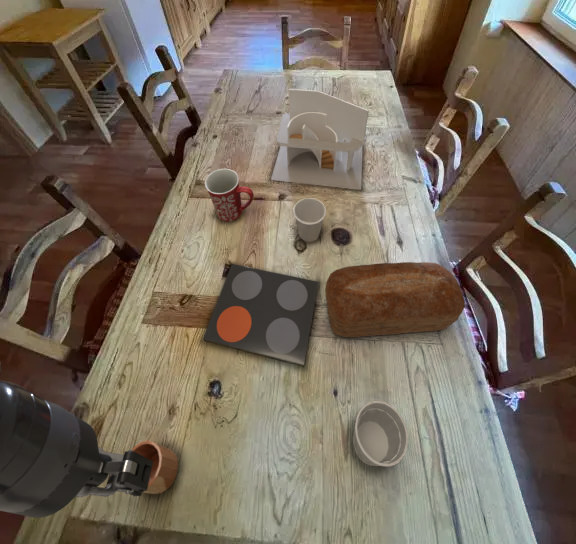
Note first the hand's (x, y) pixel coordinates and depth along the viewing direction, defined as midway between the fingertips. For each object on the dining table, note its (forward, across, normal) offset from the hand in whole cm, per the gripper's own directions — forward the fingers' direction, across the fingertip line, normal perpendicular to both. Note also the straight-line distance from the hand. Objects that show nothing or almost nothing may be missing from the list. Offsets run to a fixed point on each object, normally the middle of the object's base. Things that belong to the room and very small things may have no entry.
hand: (108, 485), depth 43 cm
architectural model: (+16, +33, +79) cm, 87 cm away
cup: (+23, +36, +8) cm, 43 cm away
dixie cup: (+18, +28, +52) cm, 61 cm away
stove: (+19, +16, +31) cm, 40 cm away
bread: (+21, +44, +30) cm, 57 cm away
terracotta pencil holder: (+21, -1, +5) cm, 21 cm away
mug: (+16, +7, +59) cm, 62 cm away
